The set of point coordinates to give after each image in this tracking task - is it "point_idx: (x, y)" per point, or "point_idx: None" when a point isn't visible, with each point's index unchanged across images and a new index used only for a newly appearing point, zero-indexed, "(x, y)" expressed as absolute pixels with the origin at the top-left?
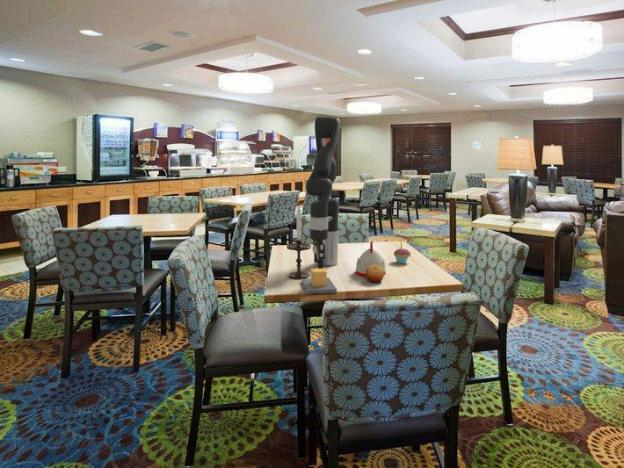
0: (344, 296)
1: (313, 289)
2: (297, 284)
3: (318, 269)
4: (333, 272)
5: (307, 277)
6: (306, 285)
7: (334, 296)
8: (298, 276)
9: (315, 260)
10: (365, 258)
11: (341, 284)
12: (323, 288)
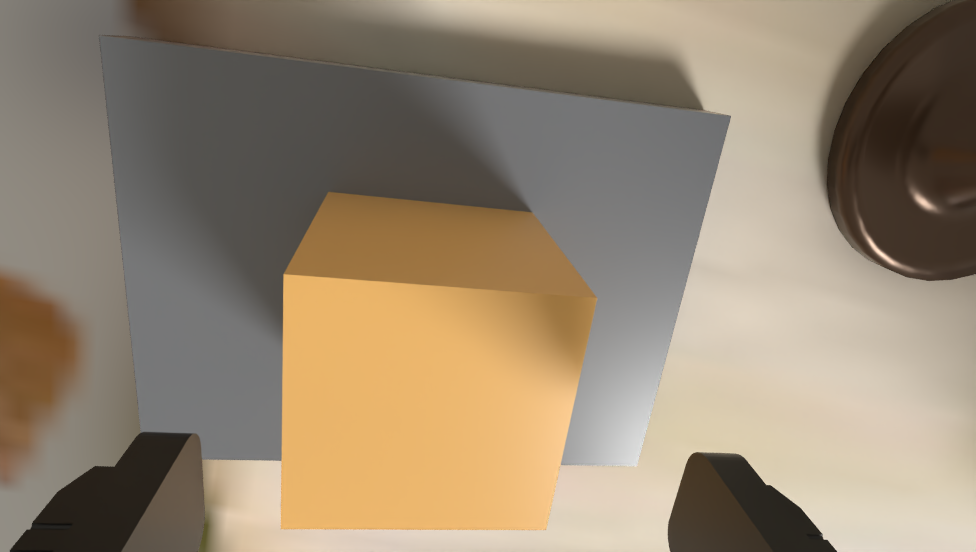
0: (13, 475)
1: (157, 153)
2: (636, 17)
3: (477, 422)
4: (872, 538)
5: (848, 240)
6: (389, 99)
7: (13, 373)
8: (922, 123)
9: (717, 510)
10: None
11: (462, 530)
12: (193, 308)
